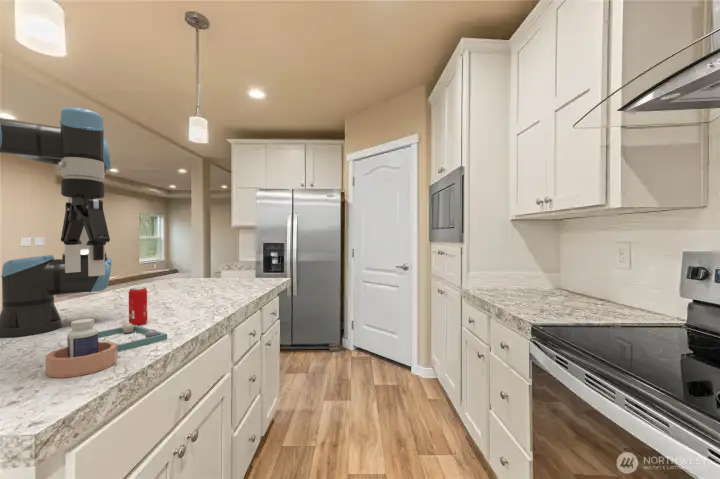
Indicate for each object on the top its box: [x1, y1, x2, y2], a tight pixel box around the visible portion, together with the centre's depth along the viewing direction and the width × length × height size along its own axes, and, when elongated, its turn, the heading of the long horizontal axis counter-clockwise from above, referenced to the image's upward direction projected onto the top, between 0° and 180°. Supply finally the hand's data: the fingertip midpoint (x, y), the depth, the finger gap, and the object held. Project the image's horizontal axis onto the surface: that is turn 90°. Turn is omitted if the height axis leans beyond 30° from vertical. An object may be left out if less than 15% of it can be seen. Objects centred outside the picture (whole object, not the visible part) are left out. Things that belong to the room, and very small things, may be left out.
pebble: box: [121, 322, 134, 334], centre depth 103 cm, size 3×3×3 cm
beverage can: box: [128, 287, 148, 326], centre depth 113 cm, size 5×5×12 cm
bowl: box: [45, 341, 118, 379], centre depth 76 cm, size 12×12×4 cm
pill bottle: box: [66, 318, 99, 358], centre depth 76 cm, size 5×5×10 cm
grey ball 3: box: [144, 328, 158, 338], centre depth 95 cm, size 3×3×3 cm
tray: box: [98, 325, 168, 352], centre depth 95 cm, size 20×16×2 cm
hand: (84, 274), depth 76 cm, fingers open, 13 cm apart
